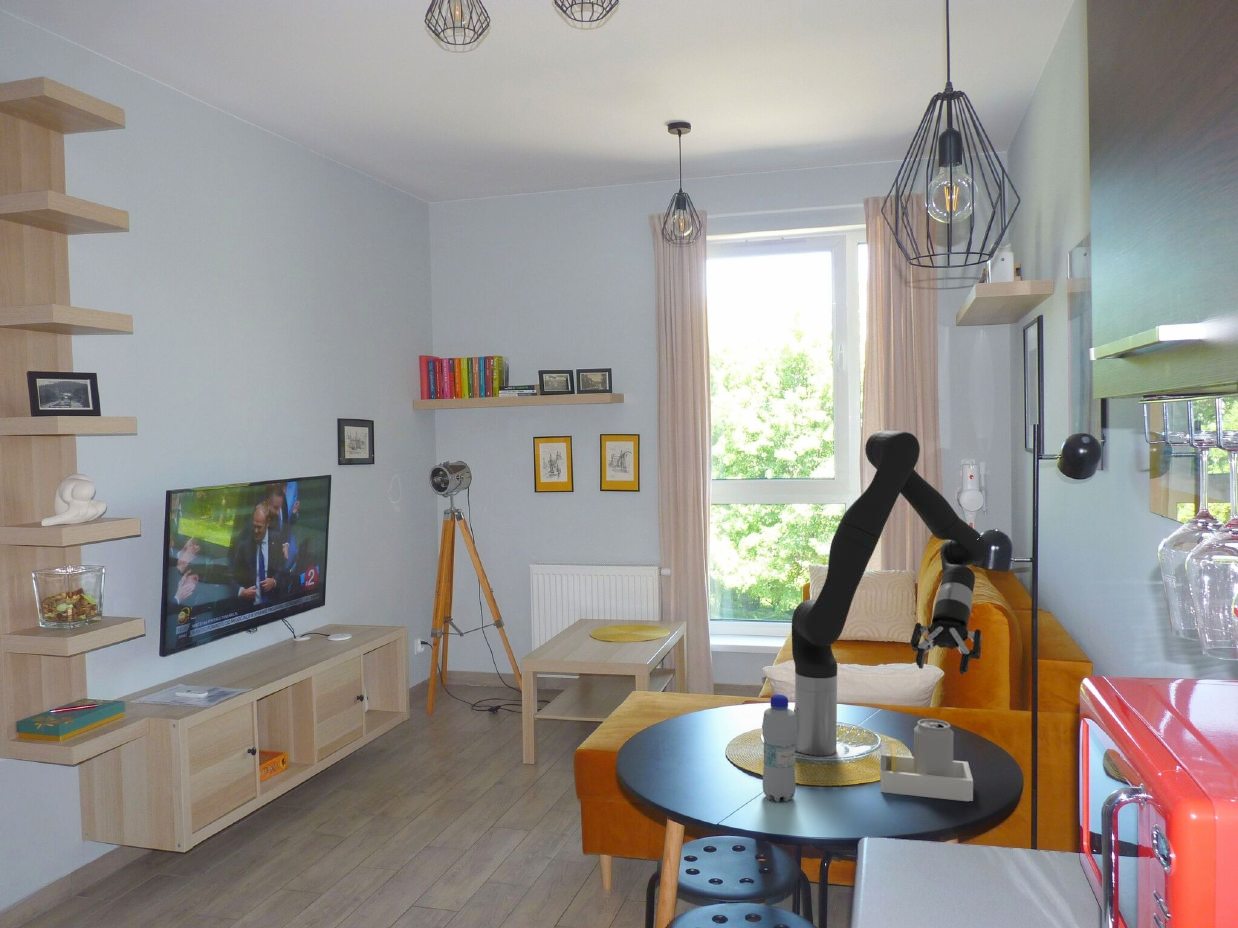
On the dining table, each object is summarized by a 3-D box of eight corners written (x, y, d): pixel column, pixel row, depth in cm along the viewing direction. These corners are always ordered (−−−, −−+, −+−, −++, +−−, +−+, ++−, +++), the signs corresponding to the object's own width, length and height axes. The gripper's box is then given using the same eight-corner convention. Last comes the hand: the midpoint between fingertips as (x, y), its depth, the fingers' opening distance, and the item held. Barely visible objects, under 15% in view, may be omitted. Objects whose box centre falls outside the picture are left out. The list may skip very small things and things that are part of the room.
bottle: (775, 806, 170) (776, 701, 170) (754, 794, 176) (755, 692, 176) (803, 800, 174) (804, 697, 173) (782, 788, 180) (782, 688, 179)
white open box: (880, 791, 178) (881, 756, 178) (880, 772, 189) (880, 739, 188) (972, 801, 173) (973, 765, 173) (967, 781, 184) (967, 746, 184)
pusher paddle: (891, 783, 179) (891, 756, 179) (890, 769, 186) (891, 743, 186) (896, 784, 179) (896, 756, 178) (895, 770, 186) (896, 743, 186)
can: (955, 790, 176) (956, 729, 176) (915, 787, 178) (916, 726, 177) (949, 776, 184) (950, 718, 183) (911, 773, 185) (912, 715, 185)
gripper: (917, 594, 203) (903, 655, 194) (984, 600, 196) (973, 664, 186) (922, 614, 208) (909, 674, 199) (988, 621, 201) (978, 683, 191)
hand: (940, 669), depth 193 cm, fingers open, 8 cm apart
